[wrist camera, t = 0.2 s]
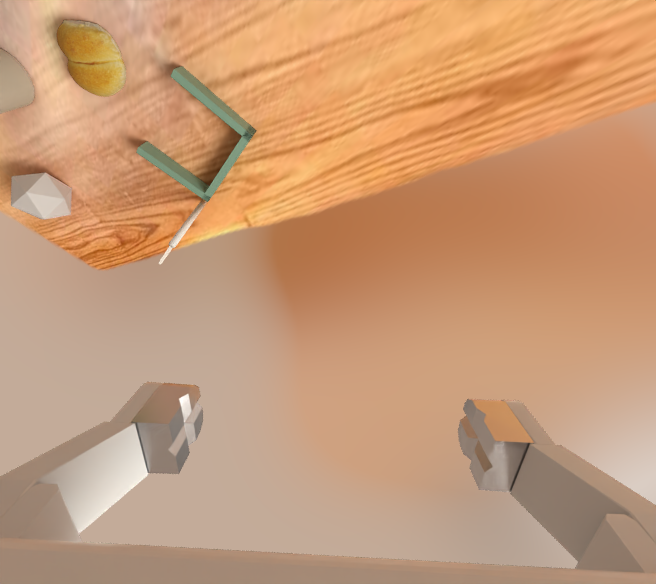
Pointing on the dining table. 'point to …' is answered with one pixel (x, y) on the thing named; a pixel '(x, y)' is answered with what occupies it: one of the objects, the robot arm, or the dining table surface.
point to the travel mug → (14, 84)
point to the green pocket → (181, 173)
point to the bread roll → (92, 57)
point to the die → (41, 195)
